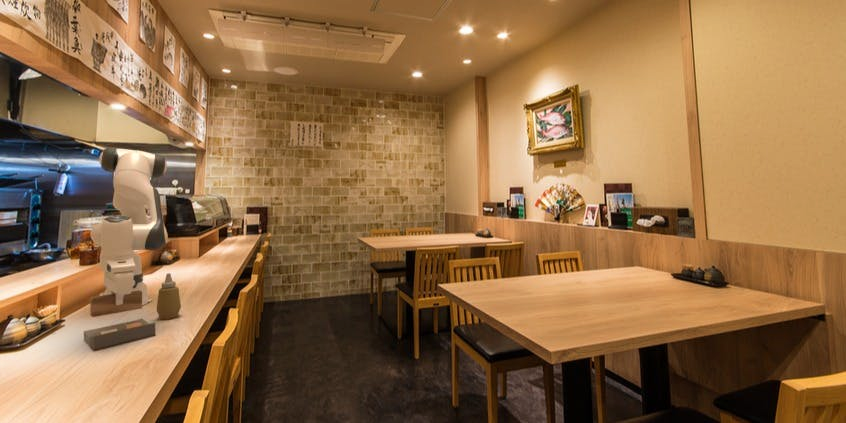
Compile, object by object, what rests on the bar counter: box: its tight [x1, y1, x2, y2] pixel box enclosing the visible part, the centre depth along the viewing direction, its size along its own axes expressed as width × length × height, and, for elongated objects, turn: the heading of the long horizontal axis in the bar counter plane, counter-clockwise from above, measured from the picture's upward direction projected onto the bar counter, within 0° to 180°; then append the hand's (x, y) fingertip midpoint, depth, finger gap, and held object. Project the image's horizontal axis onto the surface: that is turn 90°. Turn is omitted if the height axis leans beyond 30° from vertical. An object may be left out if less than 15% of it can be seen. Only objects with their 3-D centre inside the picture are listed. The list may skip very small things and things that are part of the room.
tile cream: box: [100, 329, 117, 335], centre depth 116 cm, size 4×4×2 cm
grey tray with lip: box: [83, 318, 156, 352], centre depth 120 cm, size 14×16×4 cm
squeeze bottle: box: [156, 273, 182, 320], centre depth 142 cm, size 8×8×18 cm
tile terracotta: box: [125, 322, 141, 329], centre depth 121 cm, size 4×4×2 cm
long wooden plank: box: [89, 290, 143, 318], centre depth 120 cm, size 3×13×6 cm, turn 143°
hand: (117, 303), depth 120 cm, fingers closed on long wooden plank, 3 cm apart
